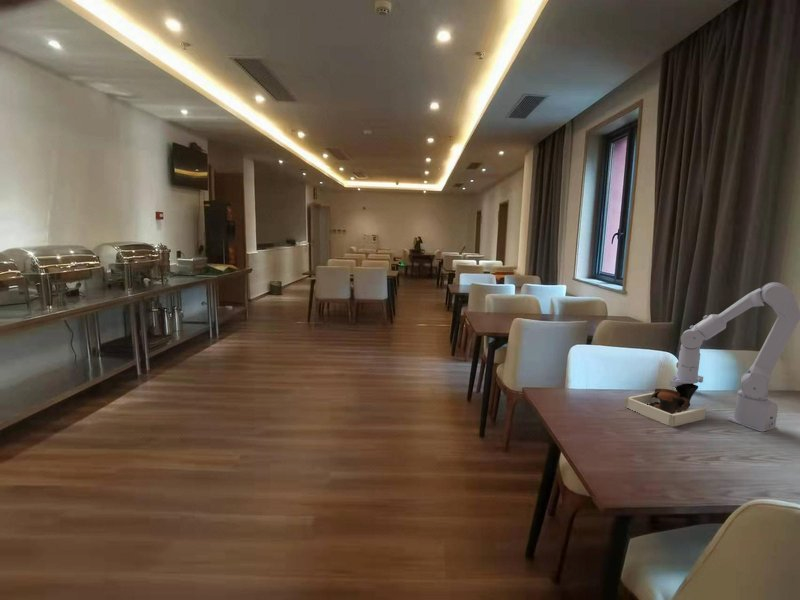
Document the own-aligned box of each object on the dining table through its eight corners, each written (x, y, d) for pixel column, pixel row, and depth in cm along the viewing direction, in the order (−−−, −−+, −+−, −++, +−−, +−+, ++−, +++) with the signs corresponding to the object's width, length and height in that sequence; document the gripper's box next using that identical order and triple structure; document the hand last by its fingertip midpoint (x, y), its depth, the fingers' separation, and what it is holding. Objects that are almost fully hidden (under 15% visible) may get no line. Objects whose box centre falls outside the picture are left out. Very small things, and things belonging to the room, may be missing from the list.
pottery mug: (643, 410, 140) (646, 386, 142) (659, 418, 144) (661, 394, 146) (682, 413, 129) (684, 388, 132) (698, 422, 133) (699, 397, 136)
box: (704, 419, 132) (705, 408, 132) (671, 426, 126) (673, 415, 125) (656, 401, 147) (657, 391, 146) (624, 407, 140) (625, 397, 140)
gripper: (689, 360, 145) (685, 397, 147) (662, 364, 139) (657, 403, 141) (711, 365, 138) (706, 405, 140) (683, 370, 133) (678, 410, 134)
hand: (683, 404), depth 140 cm, fingers closed
